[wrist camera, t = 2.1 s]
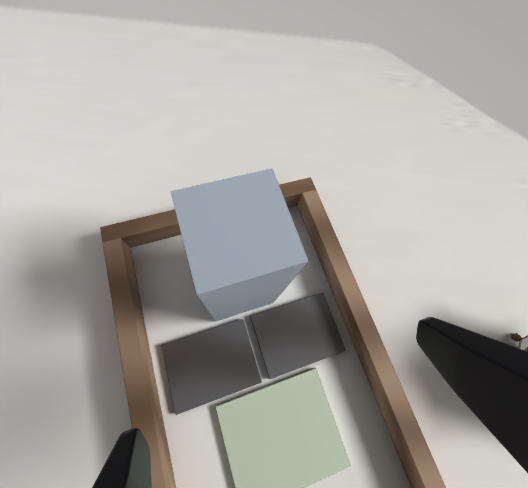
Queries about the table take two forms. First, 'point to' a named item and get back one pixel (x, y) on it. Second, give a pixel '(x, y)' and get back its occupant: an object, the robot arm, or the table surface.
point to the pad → (282, 435)
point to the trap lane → (239, 348)
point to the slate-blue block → (238, 242)
